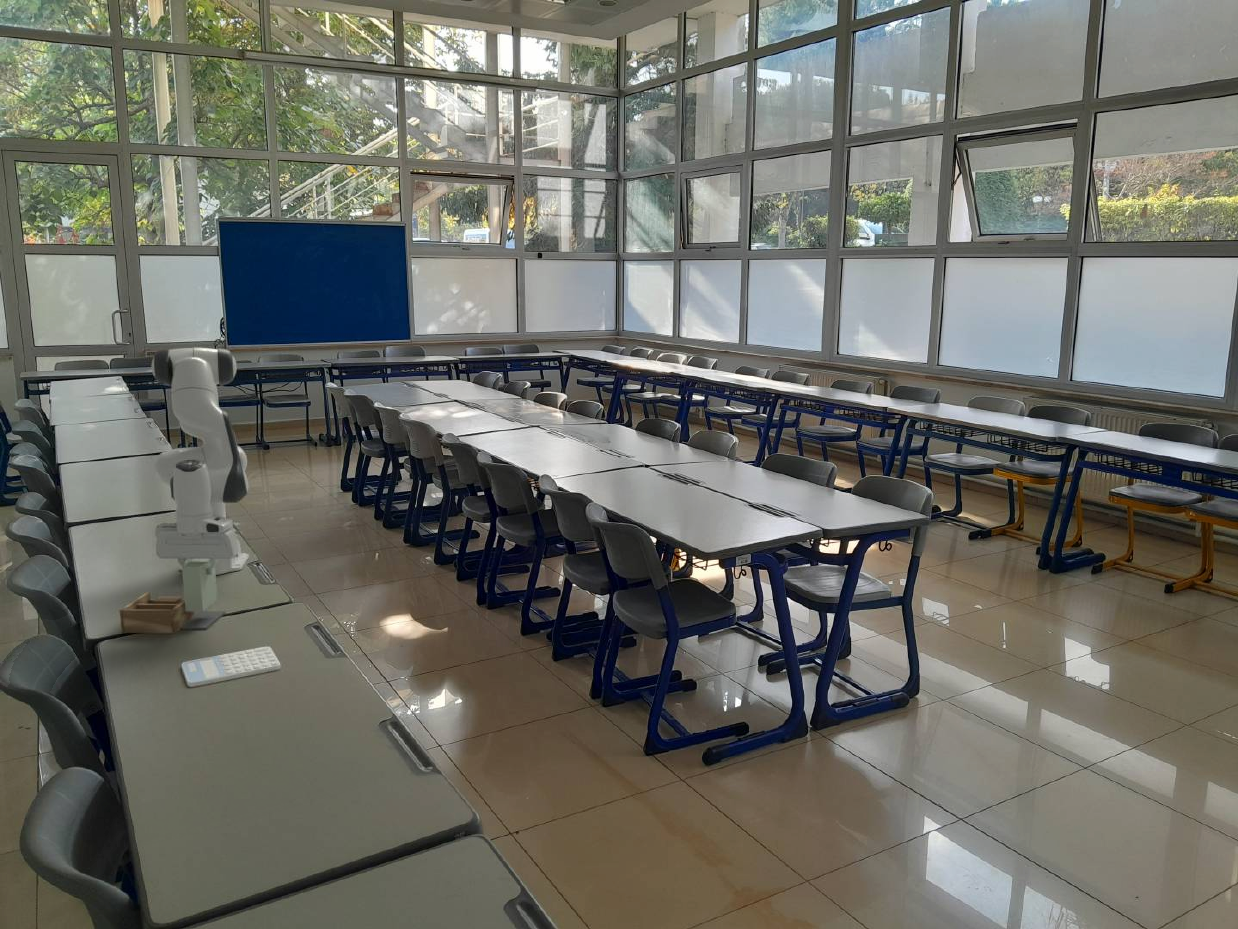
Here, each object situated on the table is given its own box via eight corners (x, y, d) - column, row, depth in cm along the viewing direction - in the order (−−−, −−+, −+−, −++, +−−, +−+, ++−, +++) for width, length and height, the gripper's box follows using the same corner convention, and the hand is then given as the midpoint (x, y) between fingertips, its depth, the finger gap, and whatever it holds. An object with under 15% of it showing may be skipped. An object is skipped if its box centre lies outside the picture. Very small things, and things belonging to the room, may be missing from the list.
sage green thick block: (185, 611, 237) (181, 567, 234) (200, 599, 246) (197, 556, 243) (203, 611, 237) (199, 567, 234) (217, 599, 246) (214, 556, 243)
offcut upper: (160, 605, 246) (159, 596, 245) (182, 605, 246) (181, 596, 245) (153, 609, 242) (152, 601, 242) (176, 610, 242) (175, 601, 242)
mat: (199, 612, 248) (199, 611, 248) (225, 613, 248) (225, 611, 248) (179, 629, 236) (179, 627, 236) (206, 629, 236) (206, 627, 236)
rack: (148, 613, 247) (146, 592, 246) (199, 613, 247) (197, 592, 246) (121, 632, 234) (119, 610, 232) (175, 633, 234) (173, 610, 233)
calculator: (282, 671, 213) (281, 663, 213) (188, 690, 203) (187, 682, 202) (270, 651, 224) (269, 644, 224) (180, 668, 214) (180, 661, 214)
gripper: (148, 526, 234) (153, 577, 236) (229, 526, 234) (232, 578, 237) (160, 519, 240) (165, 570, 242) (238, 520, 240) (242, 570, 243)
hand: (199, 574), depth 240 cm, fingers closed on sage green thick block, 4 cm apart
